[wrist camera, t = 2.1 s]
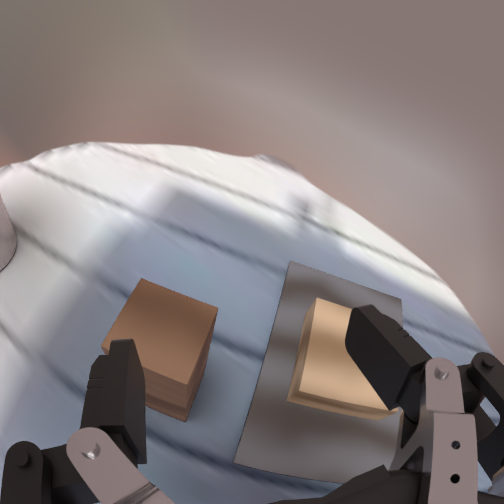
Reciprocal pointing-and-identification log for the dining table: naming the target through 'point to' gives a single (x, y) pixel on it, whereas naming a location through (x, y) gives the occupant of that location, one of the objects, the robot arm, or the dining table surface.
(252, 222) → the dining table surface
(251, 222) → the dining table surface
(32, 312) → the dining table surface
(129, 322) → the pillar
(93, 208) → the dining table surface
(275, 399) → the plinth
